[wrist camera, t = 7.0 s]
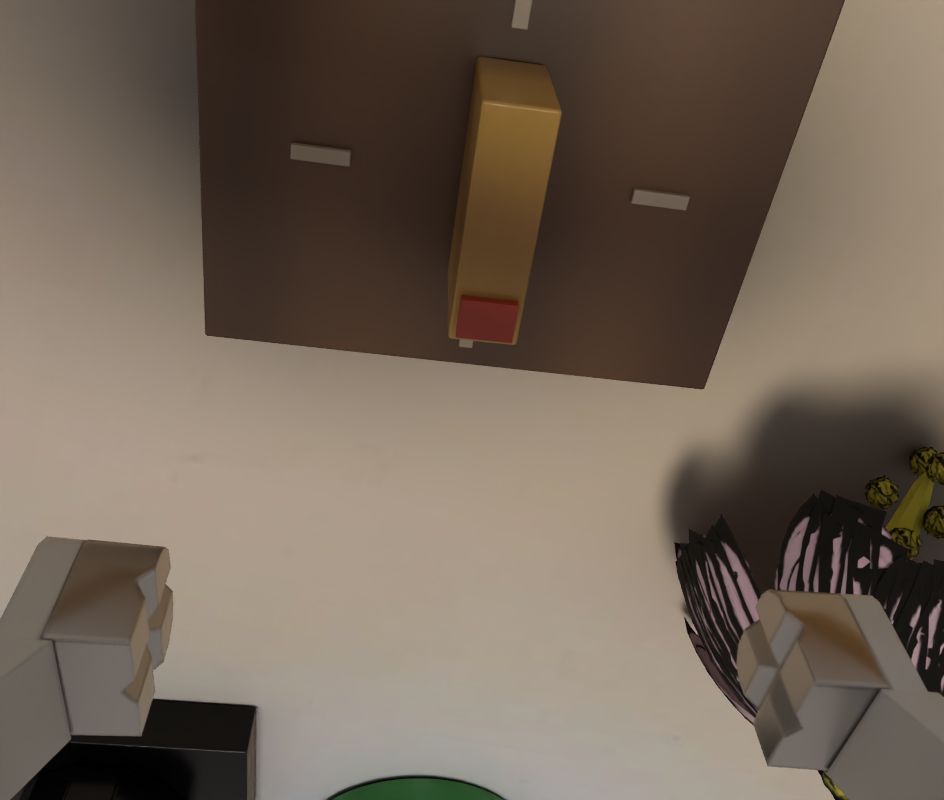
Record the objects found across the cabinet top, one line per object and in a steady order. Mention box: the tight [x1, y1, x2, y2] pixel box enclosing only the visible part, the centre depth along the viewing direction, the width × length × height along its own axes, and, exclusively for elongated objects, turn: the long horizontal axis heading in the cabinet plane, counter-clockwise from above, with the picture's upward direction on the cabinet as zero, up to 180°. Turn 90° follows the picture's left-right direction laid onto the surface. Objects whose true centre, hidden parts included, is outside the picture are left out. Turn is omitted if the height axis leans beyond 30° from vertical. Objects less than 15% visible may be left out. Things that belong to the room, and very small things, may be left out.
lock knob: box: [448, 57, 562, 345], centre depth 20 cm, size 6×2×3 cm, turn 172°
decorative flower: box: [674, 447, 944, 800], centre depth 29 cm, size 15×12×15 cm
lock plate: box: [195, 0, 845, 389], centre depth 23 cm, size 14×11×3 cm
